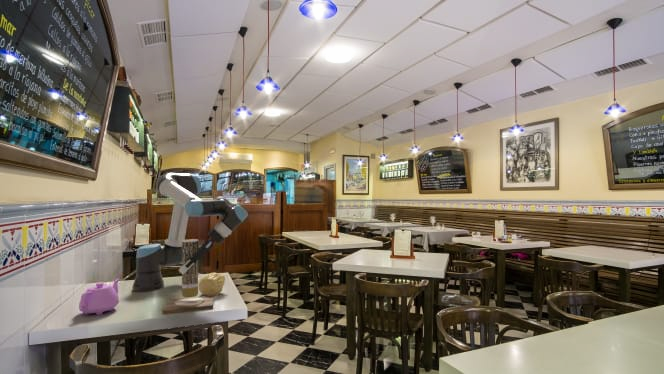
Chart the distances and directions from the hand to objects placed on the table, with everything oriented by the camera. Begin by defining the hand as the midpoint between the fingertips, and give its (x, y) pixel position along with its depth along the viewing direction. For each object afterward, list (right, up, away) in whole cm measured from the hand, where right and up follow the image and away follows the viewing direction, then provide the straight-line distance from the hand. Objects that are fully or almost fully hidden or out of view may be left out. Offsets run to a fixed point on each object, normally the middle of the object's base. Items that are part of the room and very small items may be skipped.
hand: (181, 270), depth 152 cm
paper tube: (+4, -12, +1) cm, 12 cm away
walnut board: (+3, -16, +1) cm, 16 cm away
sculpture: (+7, -17, +19) cm, 27 cm away
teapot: (-33, -16, -5) cm, 37 cm away
